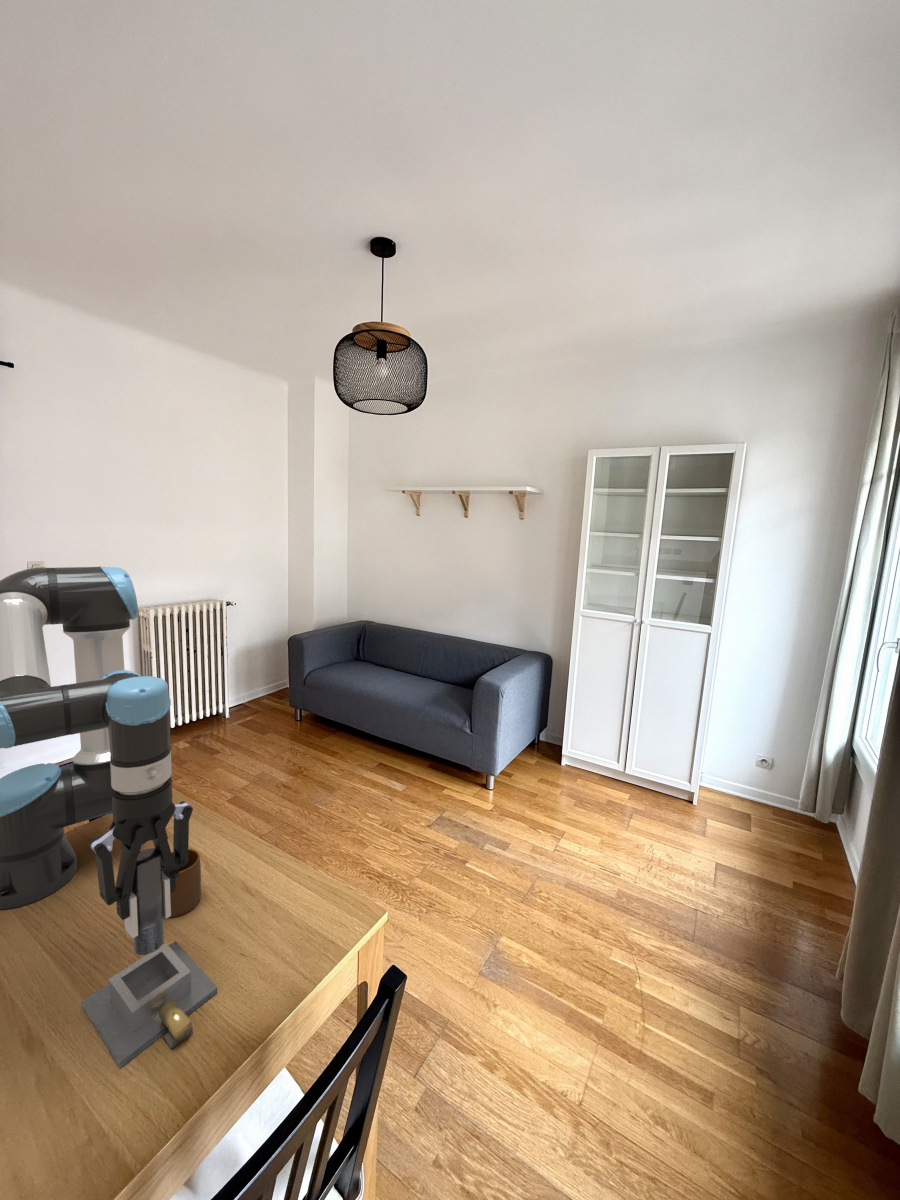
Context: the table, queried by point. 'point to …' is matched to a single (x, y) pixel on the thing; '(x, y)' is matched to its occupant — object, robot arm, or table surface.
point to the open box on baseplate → (149, 1002)
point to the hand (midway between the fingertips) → (148, 922)
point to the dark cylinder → (149, 901)
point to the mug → (187, 885)
